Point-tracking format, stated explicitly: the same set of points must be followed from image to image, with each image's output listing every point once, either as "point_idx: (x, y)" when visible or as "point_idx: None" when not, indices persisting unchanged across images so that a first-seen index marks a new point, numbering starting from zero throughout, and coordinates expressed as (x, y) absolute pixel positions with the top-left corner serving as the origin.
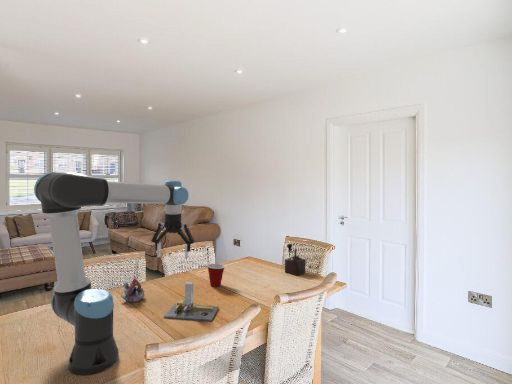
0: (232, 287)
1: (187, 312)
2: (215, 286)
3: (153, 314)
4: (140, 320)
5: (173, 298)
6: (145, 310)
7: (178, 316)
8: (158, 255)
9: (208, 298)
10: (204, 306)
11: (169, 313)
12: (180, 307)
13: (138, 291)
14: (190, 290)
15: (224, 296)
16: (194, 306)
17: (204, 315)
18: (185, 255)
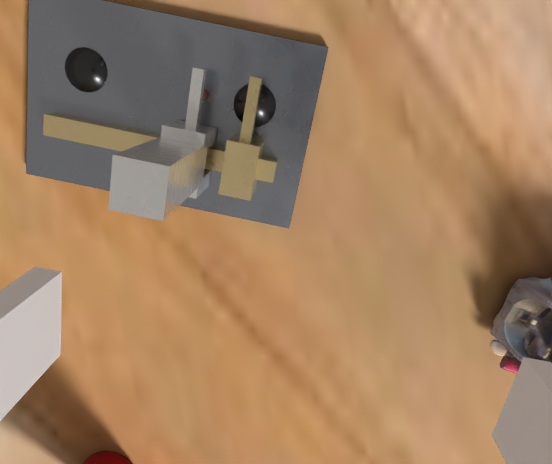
0: (14, 439)
1: None
2: (105, 452)
3: (397, 98)
4: (464, 12)
5: (314, 315)
6: (454, 157)
7: (236, 38)
8: (544, 378)
9: (116, 306)
10: (109, 179)
11: (299, 84)
12: (239, 138)
13: None
14: (141, 148)
15: None
16: None
17: (83, 47)
18: (20, 296)
